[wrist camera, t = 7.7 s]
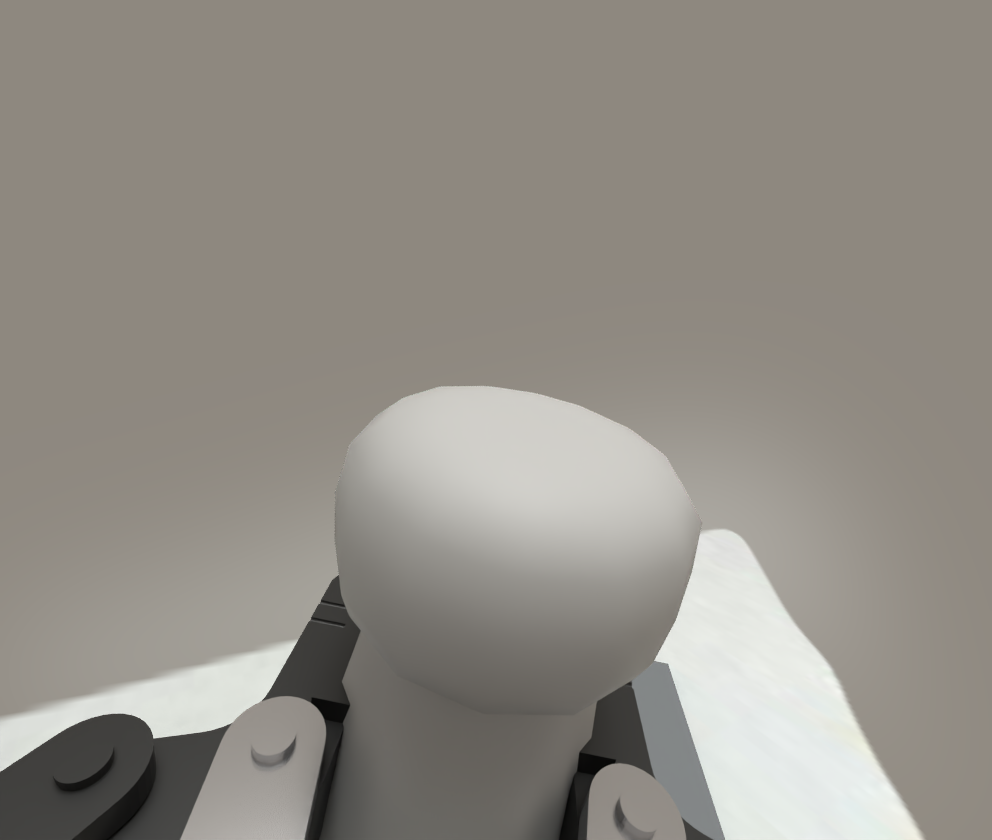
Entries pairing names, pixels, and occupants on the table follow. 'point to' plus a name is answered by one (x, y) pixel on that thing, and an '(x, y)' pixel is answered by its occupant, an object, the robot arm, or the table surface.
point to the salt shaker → (493, 606)
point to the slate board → (674, 749)
